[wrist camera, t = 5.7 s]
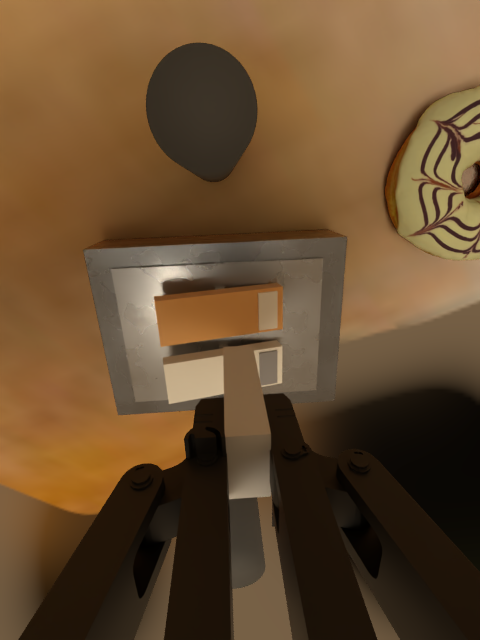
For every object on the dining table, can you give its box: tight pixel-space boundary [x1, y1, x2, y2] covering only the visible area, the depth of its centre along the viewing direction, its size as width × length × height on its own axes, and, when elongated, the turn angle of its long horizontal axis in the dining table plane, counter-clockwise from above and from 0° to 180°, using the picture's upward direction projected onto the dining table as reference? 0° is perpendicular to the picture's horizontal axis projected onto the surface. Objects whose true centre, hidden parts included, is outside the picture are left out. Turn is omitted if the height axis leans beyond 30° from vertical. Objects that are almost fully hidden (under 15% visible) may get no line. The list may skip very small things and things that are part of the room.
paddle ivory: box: [163, 340, 282, 404], centre depth 22 cm, size 8×3×1 cm, turn 92°
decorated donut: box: [385, 86, 480, 260], centre depth 22 cm, size 10×11×4 cm
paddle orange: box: [154, 283, 283, 347], centre depth 20 cm, size 8×3×1 cm, turn 92°
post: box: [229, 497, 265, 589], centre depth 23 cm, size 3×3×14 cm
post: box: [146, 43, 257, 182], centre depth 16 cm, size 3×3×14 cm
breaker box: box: [83, 229, 347, 415], centre depth 24 cm, size 16×12×5 cm
